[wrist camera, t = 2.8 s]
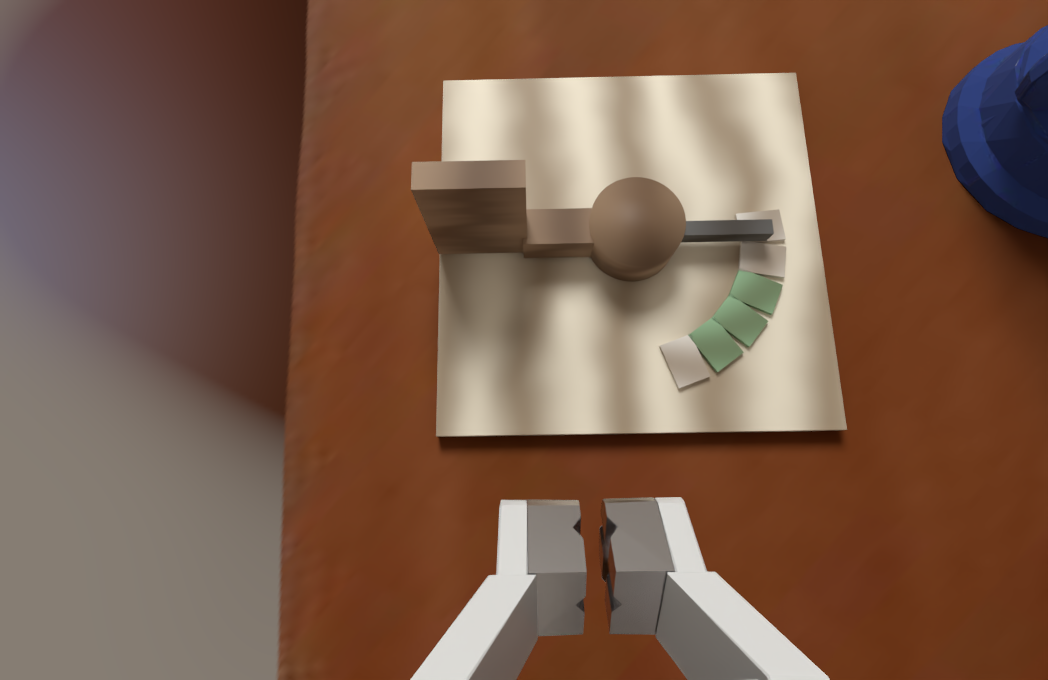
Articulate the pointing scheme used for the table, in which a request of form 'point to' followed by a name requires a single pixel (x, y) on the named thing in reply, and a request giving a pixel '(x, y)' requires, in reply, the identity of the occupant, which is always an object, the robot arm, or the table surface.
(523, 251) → the brown wooden long piece
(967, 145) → the lantern
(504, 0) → the table surface
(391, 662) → the table surface
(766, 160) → the tuner board
